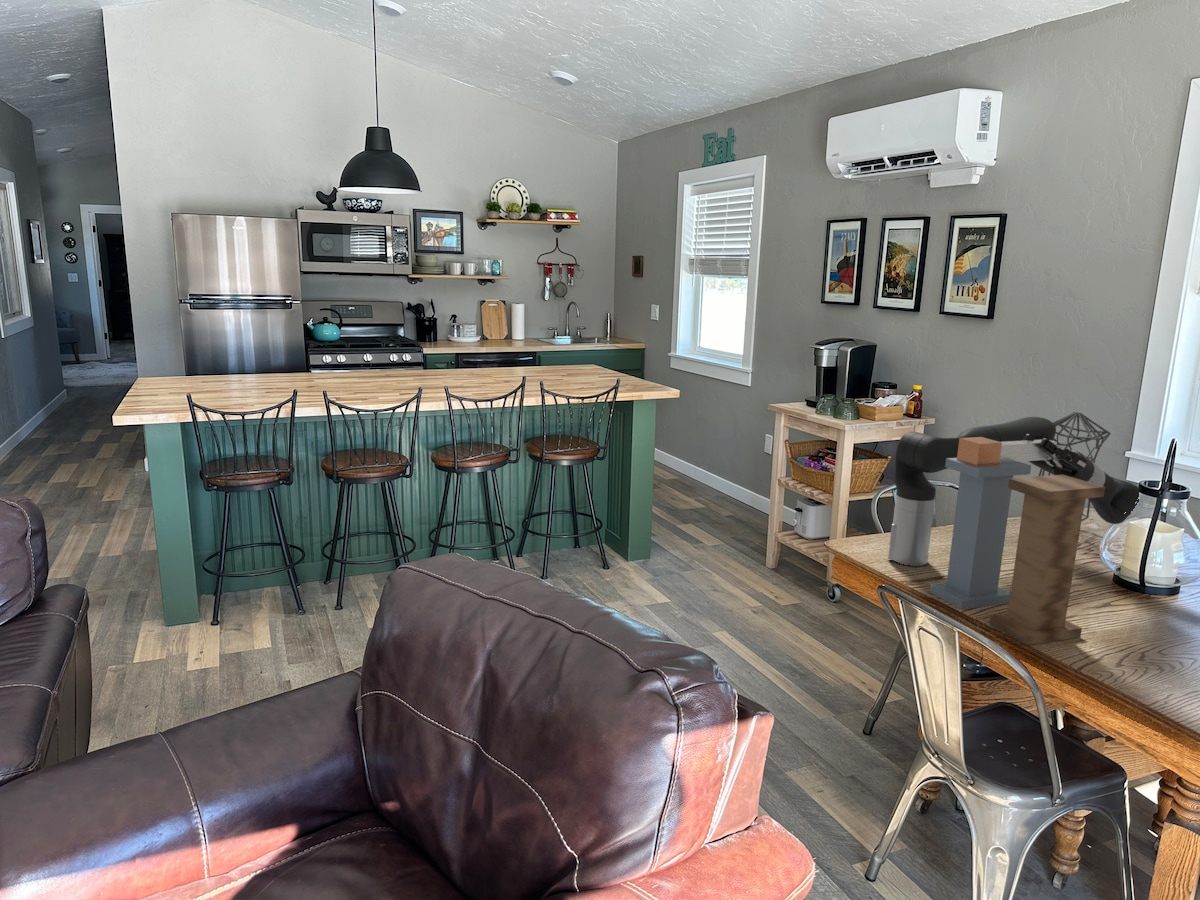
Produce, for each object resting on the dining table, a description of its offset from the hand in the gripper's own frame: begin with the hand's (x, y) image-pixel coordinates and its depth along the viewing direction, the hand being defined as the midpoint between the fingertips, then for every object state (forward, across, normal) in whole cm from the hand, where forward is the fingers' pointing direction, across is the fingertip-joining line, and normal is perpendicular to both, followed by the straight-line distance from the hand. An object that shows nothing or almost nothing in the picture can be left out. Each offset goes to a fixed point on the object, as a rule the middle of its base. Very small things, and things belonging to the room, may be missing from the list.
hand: (1034, 439), depth 181 cm
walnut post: (-8, -18, -38) cm, 42 cm away
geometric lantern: (-62, +34, -6) cm, 71 cm away
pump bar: (+3, 0, -7) cm, 8 cm away
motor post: (-8, 0, -38) cm, 38 cm away
